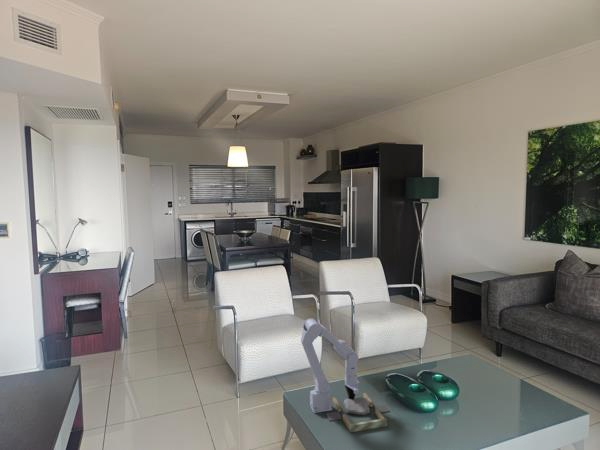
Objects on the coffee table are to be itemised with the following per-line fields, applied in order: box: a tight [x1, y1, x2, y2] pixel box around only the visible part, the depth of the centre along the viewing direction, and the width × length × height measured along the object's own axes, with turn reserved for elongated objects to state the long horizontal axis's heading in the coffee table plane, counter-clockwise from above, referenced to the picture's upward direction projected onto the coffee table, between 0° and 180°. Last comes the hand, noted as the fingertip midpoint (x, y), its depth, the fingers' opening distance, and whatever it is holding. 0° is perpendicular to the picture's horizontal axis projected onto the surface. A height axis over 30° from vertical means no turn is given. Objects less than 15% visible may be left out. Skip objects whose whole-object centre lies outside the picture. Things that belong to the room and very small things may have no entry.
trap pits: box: [325, 404, 391, 422], centre depth 187 cm, size 30×6×1 cm, turn 103°
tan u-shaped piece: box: [332, 392, 388, 433], centre depth 186 cm, size 17×25×3 cm
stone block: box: [343, 396, 370, 416], centre depth 190 cm, size 12×5×10 cm
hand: (351, 400), depth 196 cm, fingers closed
